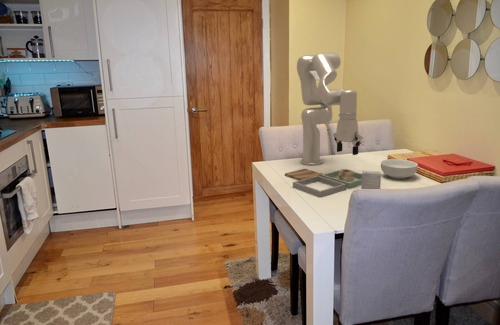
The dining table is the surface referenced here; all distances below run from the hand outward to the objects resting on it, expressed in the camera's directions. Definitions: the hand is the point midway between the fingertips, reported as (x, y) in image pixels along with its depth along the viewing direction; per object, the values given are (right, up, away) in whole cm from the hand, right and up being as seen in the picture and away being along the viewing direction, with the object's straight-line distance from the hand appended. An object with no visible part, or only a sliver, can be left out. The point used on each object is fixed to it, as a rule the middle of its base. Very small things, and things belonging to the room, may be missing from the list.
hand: (347, 153), depth 176 cm
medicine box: (+7, -17, -11) cm, 22 cm away
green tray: (0, -13, +4) cm, 14 cm away
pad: (-18, -11, +14) cm, 26 cm away
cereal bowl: (+27, -12, +7) cm, 30 cm away
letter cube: (0, -13, +4) cm, 14 cm away
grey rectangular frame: (-14, -16, -6) cm, 23 cm away
